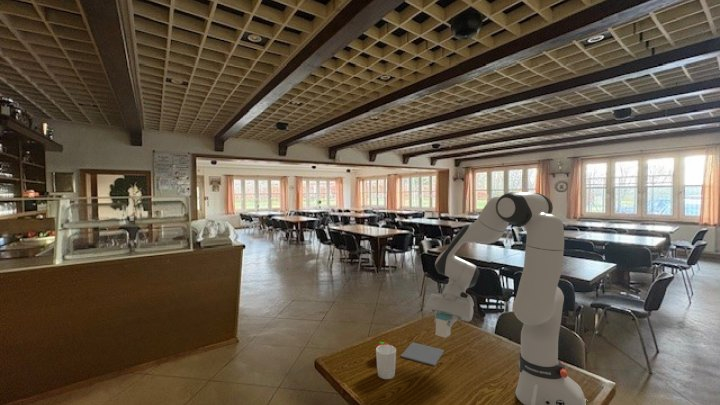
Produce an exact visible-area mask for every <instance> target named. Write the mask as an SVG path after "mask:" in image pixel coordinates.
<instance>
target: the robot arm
mask: <svg viewBox="0 0 720 405" xmlns="http://www.w3.org/2000/svg"><path fill="white" fill-rule="evenodd" d="M553 206H554V205H553V202H552V200H551V199H550V198H549V197H548V196H546V195H544V194H542V193H538V192H528V191H517V192H516V191H510V192H507V193H504V194H502V195H501V196H494V197H492V198H490V199H489V200H488V201H487V203H486V204H485V206H484V207H483V208H482V210H481V212H480V214H478V217H477V219H475V221H474V222H472V223H471V224H465V225H463V227H462V228H460V230H458V232H457V233H456V235H455V236H454V237H453V238H452V240H451V241H450V242H449V244H448V245H447V246H446V248H444V250H443V251H442V252H441V253H440V254H439V255H438V257H436V260H435V263H434V268H435V269H436V272H437V274H440V275H442V276H445V277H448V283H447V284H446V285H445V287H444V289H443V292H442V293H441V292H440V293H439V292H433V293H430V295H429V297H428V299H427V300H426V302H425V304H424V307H425V309H426V311H427V312H430V313H434V319H433V321H434V324H436V315H438V314H440V313H443V314H447V315H451V321H449V320H448V323H447V325H448V326H449V327H451V328H452V327H453V325H454V324H455V323H456V322H458V320H461V321H465V322H470V321H472V319H473V316H474V306H475V303H474V300H473V298H472V296H471V294H468V293H467V292H466V291H467V289H469V288H473V287H475V285H476V284H477V282H478V279H479V276H480V269H479V267H478V266H477V265H475V264H474V263H472V262H469V261H468V260H465V259H463V258H461V257H459V256H458V255H455V254H456V252H457V251H458V250H459V249H460V248H461V246H463V244H467V243H473V244H483V245H487V244H488V245H489V244H490V245H491V244H494V243H496V242H498V241H499V240H500V239H501V238H502V237H503V235H504V234H505V232H506V230H507V228H508V227H509V225H510V224H511V225H514V226H516V227H517V228H522V227H524V229H525V230H526V241H525V251H524V263H523V269H522V273H521V276H520V280H519V284H518V288H517V292H516V296H515V298H514V300H513V303H512V311H513V314H514V315H515V317H516V318H517V319H518V320H519V321H520V323H522V324H523V325H522V329H521V330H520V353H519V356H518V370H519V378H518V381H517V385H516V389H515V391H514V393H515V397H516V398H517V400H519V401H520V403H521V404H523V405H586V400H587V398H586V397H585V394H584V392H583V389H582V388H581V386H580V384H578V383H577V382H576V381H574V380H573V379H572V378H571V377H569V375H568V371H567V370H566V367H565V366H566V365H565V364H564V362H563V361H559V359H558V358H559V338H560V337H559V336H560V331H561V326H562V325H561V324H562V316H563V315H562V314H563V308H564V307H563V306H564V302H565V301H564V300H565V295H564V293H563V291H562V289H561V288H560V287H559V285H558V284H559V281H560V277H561V275H562V272H563V262H564V251H565V230H564V228H565V227H564V223H563V220H562V219H561V218H560V217H558V215H554V214H552V213H553V208H554V207H553Z"/></svg>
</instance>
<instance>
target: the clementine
mask: <svg viewBox="0 0 720 405" xmlns="http://www.w3.org/2000/svg"><path fill="white" fill-rule="evenodd" d="M380 345H390V344H389V343H388V342H384V341H379V342H378V343H377V347H378V346H380ZM377 347H376V348H377Z"/></svg>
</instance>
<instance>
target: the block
mask: <svg viewBox="0 0 720 405" xmlns="http://www.w3.org/2000/svg"><path fill="white" fill-rule="evenodd" d="M448 320H449V321H451V320H452V317H451V315H447V314H443V313H440V314H438V315H436V323H435V334H434V335H435V336H438V337H442V338H444V339H446V338H448V337H450V336H451V332H452V330H451V328H452V327H449V326H448V325H447V323H448Z"/></svg>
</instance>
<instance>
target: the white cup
mask: <svg viewBox="0 0 720 405" xmlns="http://www.w3.org/2000/svg"><path fill="white" fill-rule="evenodd" d="M377 346H378V345H377ZM375 354H376V369H377V376H378V377H379V378H380V379H382V380H391V379H393V378H394V377H396V376H395V375H396V364H397V363H396V361H397V348H396V347H395V346H393V345H391V344H389V345H380V346H378V347H376V348H375Z"/></svg>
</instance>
